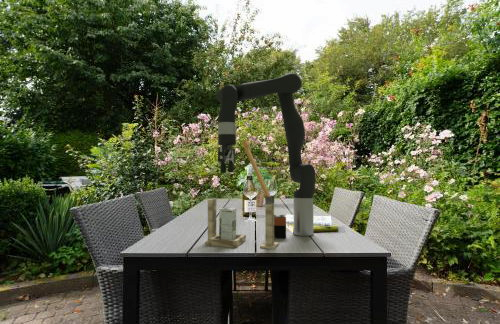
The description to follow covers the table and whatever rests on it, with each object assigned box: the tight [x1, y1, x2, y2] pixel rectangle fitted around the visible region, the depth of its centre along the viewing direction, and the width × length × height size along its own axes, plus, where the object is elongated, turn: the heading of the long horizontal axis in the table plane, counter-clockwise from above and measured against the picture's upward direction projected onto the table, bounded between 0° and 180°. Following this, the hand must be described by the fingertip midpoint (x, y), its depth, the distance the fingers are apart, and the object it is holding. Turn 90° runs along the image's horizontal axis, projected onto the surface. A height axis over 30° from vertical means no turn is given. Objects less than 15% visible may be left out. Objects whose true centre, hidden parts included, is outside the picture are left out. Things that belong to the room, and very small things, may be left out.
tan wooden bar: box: [241, 139, 271, 197], centre depth 128 cm, size 4×26×2 cm
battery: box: [274, 214, 287, 239], centre depth 142 cm, size 4×7×10 cm, turn 82°
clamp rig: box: [204, 194, 280, 250], centre depth 129 cm, size 12×30×20 cm, turn 73°
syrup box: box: [218, 207, 237, 240], centre depth 131 cm, size 6×6×14 cm
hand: (227, 172), depth 132 cm, fingers open, 8 cm apart
